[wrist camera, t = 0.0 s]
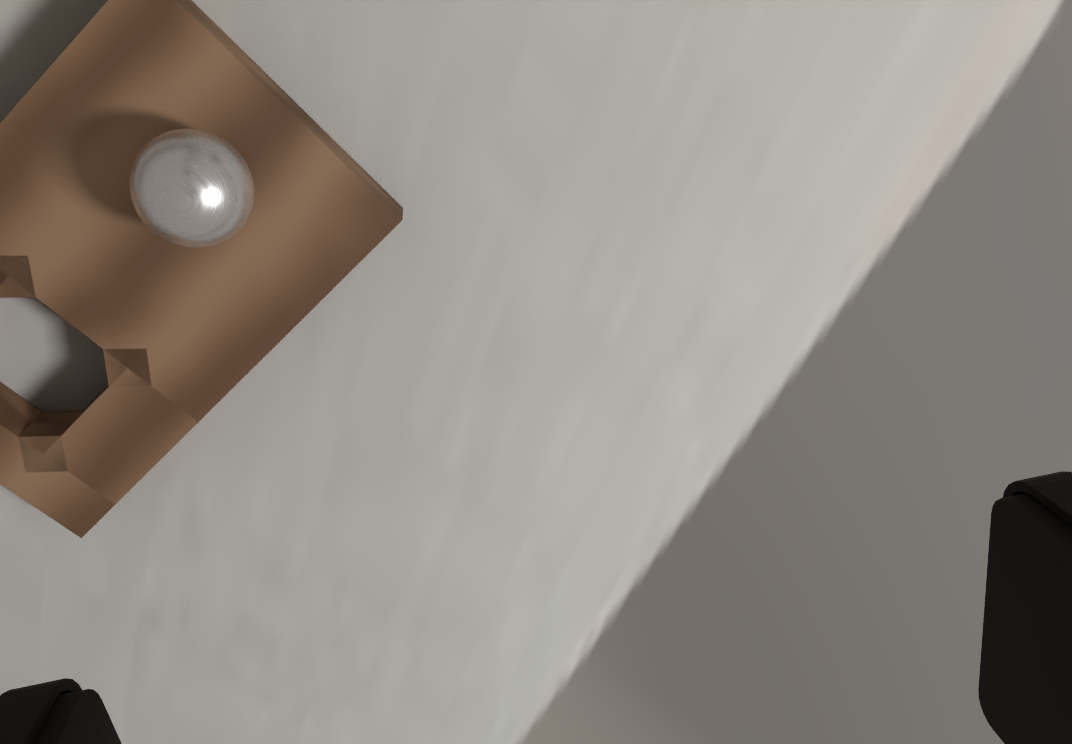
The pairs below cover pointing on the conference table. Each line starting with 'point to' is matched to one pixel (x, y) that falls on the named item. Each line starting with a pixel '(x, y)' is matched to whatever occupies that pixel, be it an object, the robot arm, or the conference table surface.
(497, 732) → the conference table surface
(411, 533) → the conference table surface
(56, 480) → the deck
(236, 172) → the ball
